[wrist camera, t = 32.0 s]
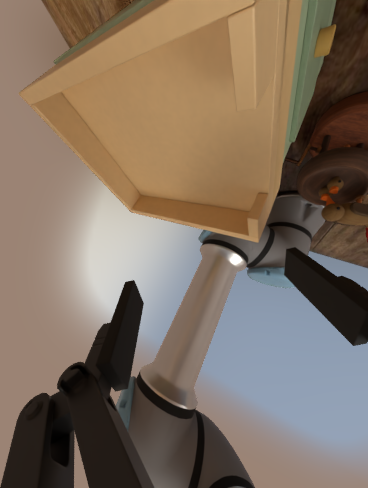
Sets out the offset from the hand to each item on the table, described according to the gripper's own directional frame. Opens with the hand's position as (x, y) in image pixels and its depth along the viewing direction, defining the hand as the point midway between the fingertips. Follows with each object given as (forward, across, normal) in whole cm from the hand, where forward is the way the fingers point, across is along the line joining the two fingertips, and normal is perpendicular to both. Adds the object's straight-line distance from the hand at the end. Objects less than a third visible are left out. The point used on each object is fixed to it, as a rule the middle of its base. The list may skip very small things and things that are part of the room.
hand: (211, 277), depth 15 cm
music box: (+21, +29, +8) cm, 37 cm away
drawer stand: (+22, +15, +24) cm, 36 cm away
